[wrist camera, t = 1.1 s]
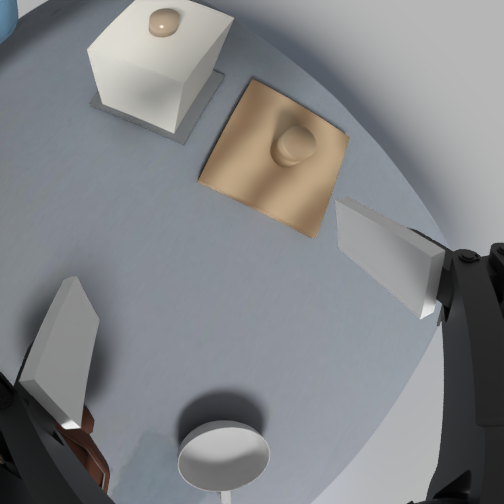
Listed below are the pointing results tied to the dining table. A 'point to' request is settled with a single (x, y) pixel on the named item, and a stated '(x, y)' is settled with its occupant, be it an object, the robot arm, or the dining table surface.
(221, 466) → the saucepan
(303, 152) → the cork
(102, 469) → the ice cream bowl
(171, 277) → the dining table surface
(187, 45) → the knobbed white box
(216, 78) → the mat
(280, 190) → the board
